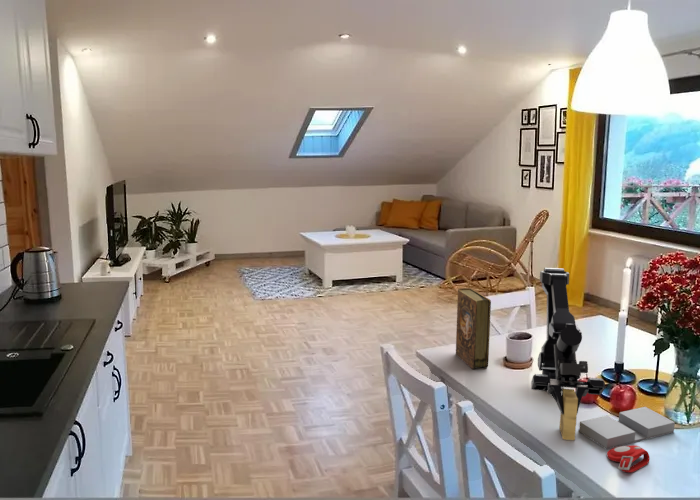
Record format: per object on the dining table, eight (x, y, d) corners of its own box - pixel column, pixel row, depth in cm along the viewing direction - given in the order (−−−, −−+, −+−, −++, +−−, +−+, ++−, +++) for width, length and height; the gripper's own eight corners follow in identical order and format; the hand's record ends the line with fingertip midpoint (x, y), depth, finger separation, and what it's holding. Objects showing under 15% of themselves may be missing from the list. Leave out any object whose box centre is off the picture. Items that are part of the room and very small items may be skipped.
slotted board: (579, 431, 164) (579, 421, 163) (644, 416, 172) (645, 406, 172) (606, 449, 155) (607, 438, 154) (673, 432, 163) (674, 422, 162)
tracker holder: (598, 447, 154) (635, 437, 154) (603, 463, 154) (640, 454, 154) (620, 462, 142) (660, 452, 142) (624, 480, 142) (664, 470, 142)
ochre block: (559, 428, 165) (562, 388, 163) (570, 429, 165) (573, 389, 162) (562, 439, 159) (566, 398, 157) (574, 440, 159) (577, 399, 156)
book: (454, 353, 221) (456, 288, 215) (467, 352, 222) (470, 287, 217) (473, 370, 205) (476, 301, 200) (488, 368, 206) (491, 300, 201)
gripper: (535, 346, 163) (537, 401, 154) (606, 351, 159) (613, 407, 151) (530, 362, 172) (532, 415, 164) (597, 367, 169) (603, 421, 160)
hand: (569, 414), depth 159 cm, fingers closed on ochre block, 3 cm apart
